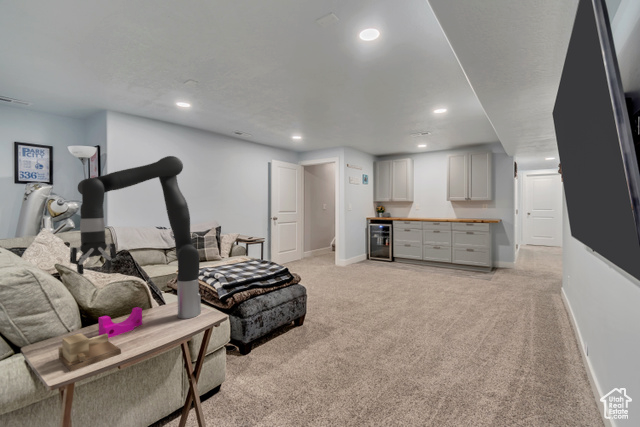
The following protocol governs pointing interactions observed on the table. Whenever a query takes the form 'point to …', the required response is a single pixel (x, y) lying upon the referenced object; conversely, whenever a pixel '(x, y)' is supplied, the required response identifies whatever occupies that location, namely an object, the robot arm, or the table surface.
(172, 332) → the table surface
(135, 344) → the table surface
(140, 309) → the toy block
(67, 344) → the beige rectangular block
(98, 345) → the board
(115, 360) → the table surface
